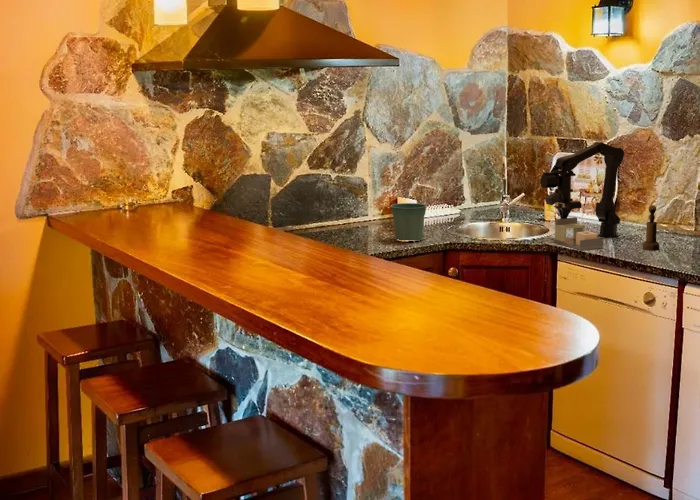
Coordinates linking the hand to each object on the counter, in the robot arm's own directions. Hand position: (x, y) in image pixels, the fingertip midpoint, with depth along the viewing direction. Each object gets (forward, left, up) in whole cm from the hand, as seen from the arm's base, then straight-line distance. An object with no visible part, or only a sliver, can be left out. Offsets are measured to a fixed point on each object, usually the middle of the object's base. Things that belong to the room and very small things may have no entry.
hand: (563, 222), depth 357 cm
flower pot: (+59, -32, -8) cm, 68 cm away
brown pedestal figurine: (-22, +31, -8) cm, 39 cm away
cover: (0, +5, -7) cm, 8 cm away
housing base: (0, +11, -8) cm, 14 cm away
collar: (0, +17, -7) cm, 18 cm away
